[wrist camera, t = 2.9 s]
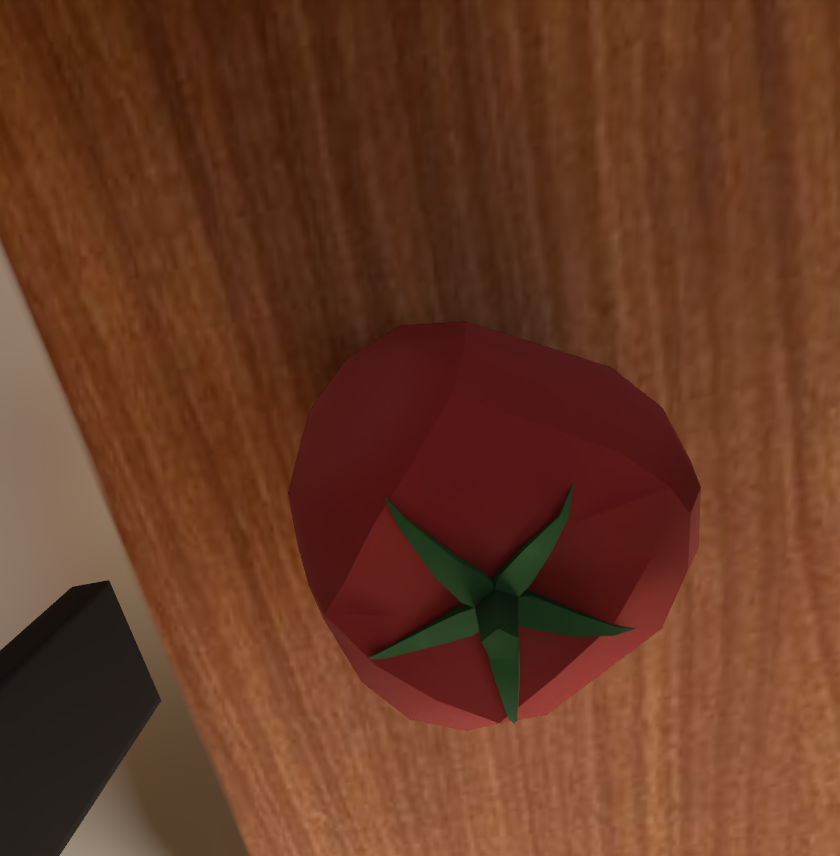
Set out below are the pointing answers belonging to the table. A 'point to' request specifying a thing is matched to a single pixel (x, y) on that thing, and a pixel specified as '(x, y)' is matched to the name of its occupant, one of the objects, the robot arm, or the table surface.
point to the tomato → (488, 520)
